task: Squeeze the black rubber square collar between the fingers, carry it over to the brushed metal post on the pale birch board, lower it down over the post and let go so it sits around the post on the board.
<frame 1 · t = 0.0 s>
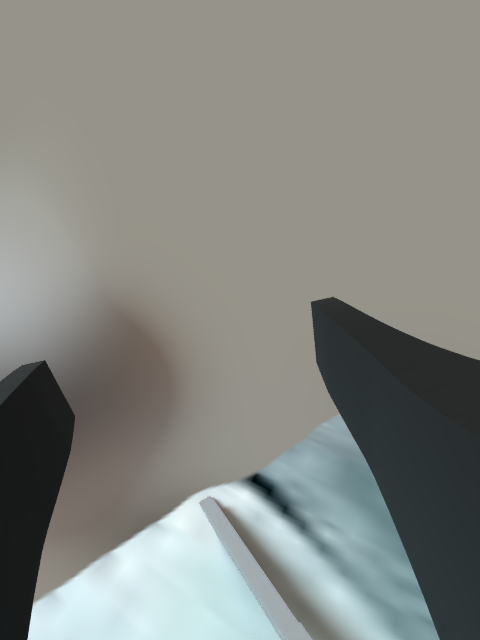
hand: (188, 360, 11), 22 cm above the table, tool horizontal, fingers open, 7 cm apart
caliper: (273, 620, 25), on the table
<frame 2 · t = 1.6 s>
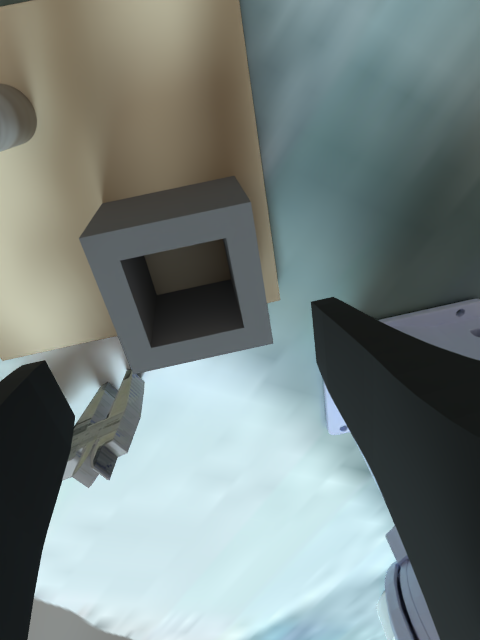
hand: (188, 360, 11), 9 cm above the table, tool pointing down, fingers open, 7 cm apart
post board: (99, 194, 17), on the table
collar: (184, 251, 18), point 1 cm above the table, touching post board
caliper: (4, 450, 24), on the table
honey pot: (436, 591, 41), on the table
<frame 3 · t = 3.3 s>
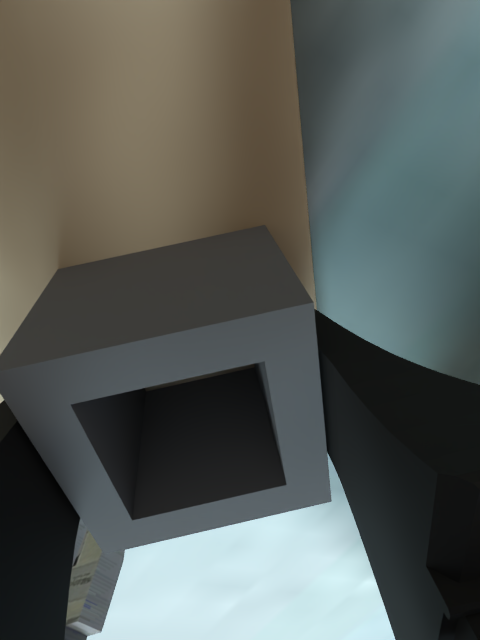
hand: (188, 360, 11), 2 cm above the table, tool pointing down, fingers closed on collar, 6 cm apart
post board: (57, 250, 11), on the table
collar: (187, 333, 12), point 1 cm above the table, touching gripper, post board
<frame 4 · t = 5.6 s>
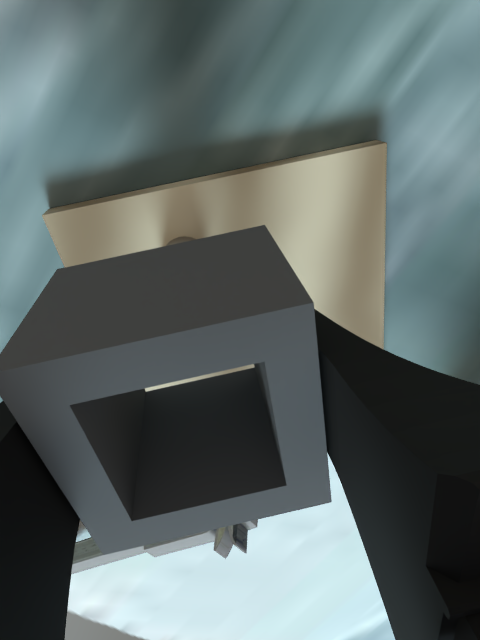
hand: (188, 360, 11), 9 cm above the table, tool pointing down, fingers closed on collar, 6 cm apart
post board: (240, 307, 20), on the table
collar: (187, 333, 12), point 7 cm above the table, touching gripper
caliper: (118, 508, 27), on the table
when the fingers open (3 cm above the table, at t = 7.9 s): collar drops 1 cm, resting on post board.
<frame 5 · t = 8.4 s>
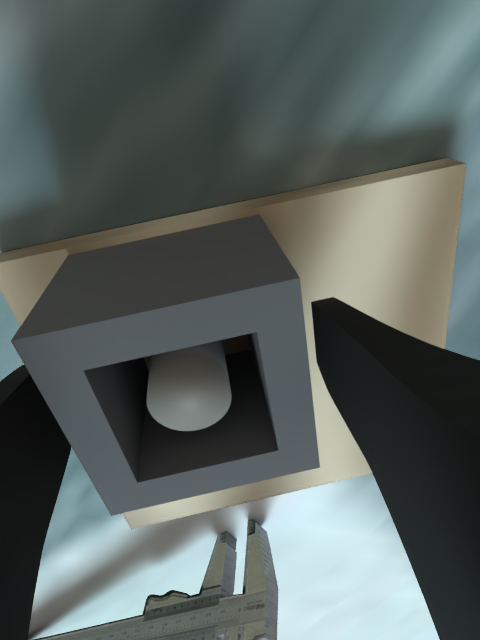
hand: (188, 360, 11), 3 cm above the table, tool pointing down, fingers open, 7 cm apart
post board: (258, 369, 16), on the table
collar: (187, 317, 13), point 1 cm above the table, touching post board
caliper: (105, 591, 23), on the table
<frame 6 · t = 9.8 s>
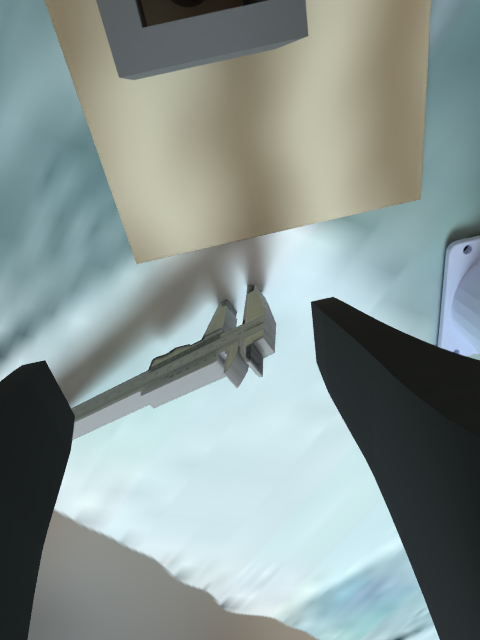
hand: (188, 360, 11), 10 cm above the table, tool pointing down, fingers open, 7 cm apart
post board: (253, 75, 17), on the table
caliper: (112, 378, 24), on the table
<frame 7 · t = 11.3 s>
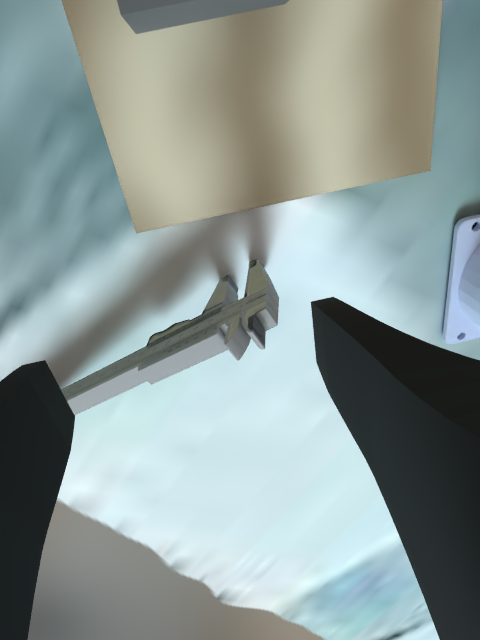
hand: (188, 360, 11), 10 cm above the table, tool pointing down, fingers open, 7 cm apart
post board: (260, 34, 16), on the table
caliper: (109, 357, 23), on the table
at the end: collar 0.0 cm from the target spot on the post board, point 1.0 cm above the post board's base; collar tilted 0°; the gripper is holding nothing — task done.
